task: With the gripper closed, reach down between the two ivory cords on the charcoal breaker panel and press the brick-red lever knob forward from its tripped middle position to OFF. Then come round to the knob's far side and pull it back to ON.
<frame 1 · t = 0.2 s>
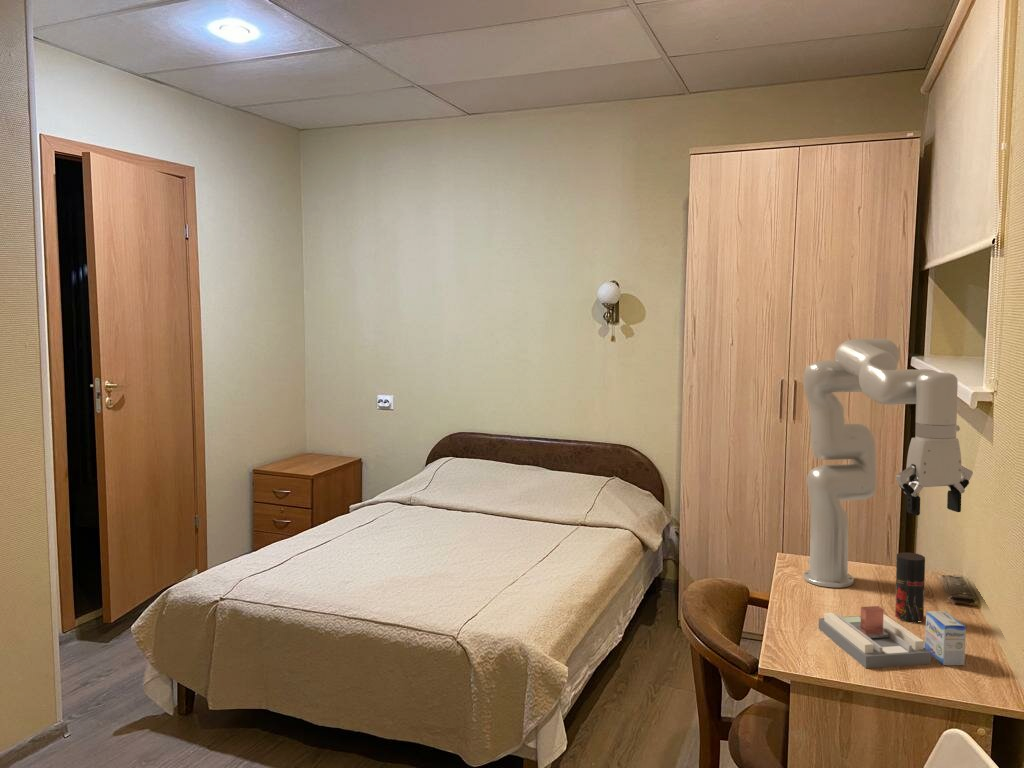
hand: (933, 512, 162), 30 cm above the table, tool pointing down, fingers open, 9 cm apart
breaker panel: (871, 645, 168), on the table
deodorant: (909, 618, 183), on the table
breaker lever: (871, 620, 168), point 6 cm above the table, slide at 5.0 cm
medicine box: (944, 658, 162), on the table
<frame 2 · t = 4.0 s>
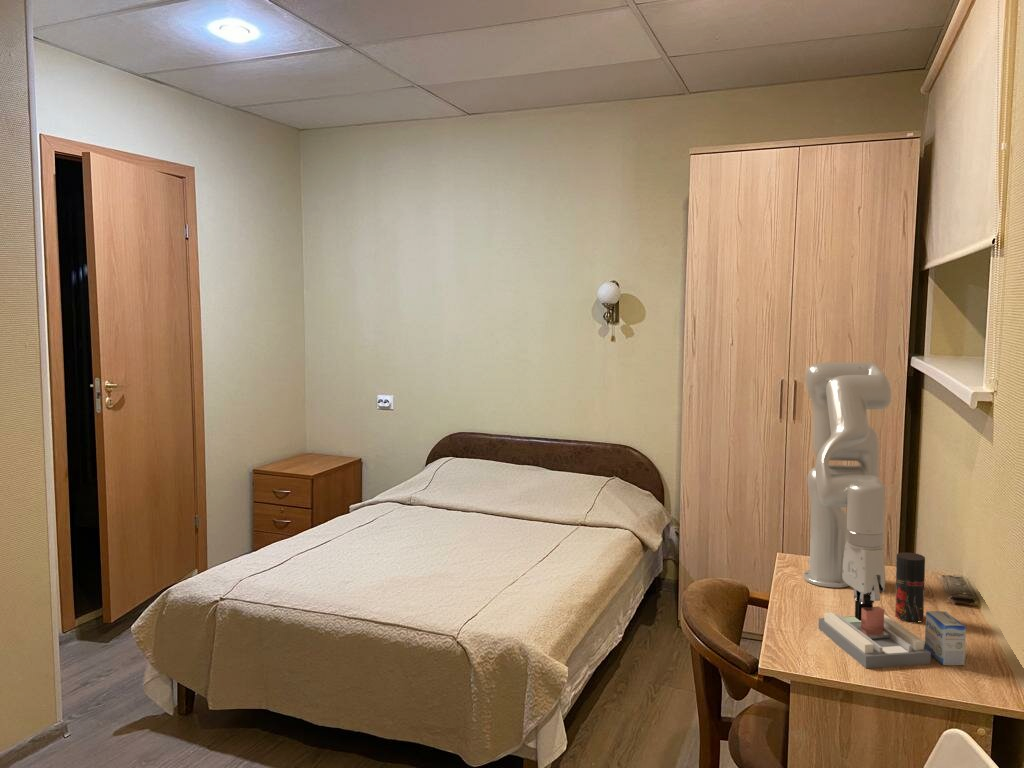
hand: (863, 618, 171), 5 cm above the table, tool pointing down, fingers closed
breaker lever: (872, 621, 168), point 6 cm above the table, slide at 5.3 cm, touching gripper
everything else where it was.
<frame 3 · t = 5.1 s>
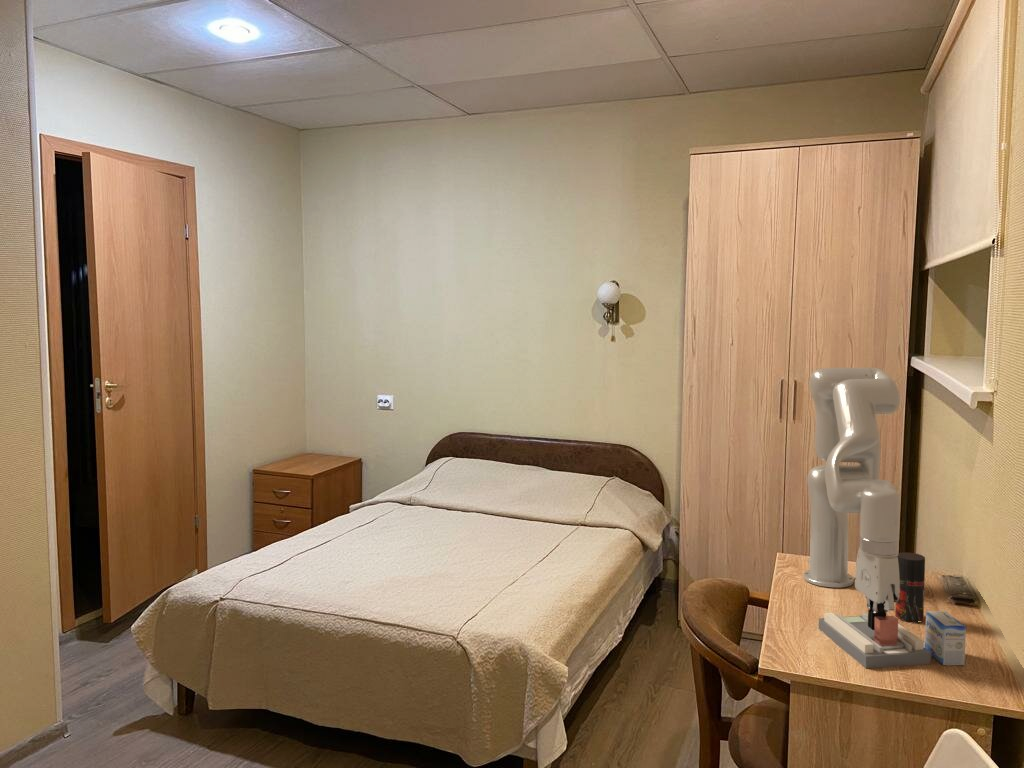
hand: (876, 628, 166), 5 cm above the table, tool pointing down, fingers closed
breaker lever: (886, 630, 162), point 6 cm above the table, slide at 10.4 cm, touching gripper
everything else where it was.
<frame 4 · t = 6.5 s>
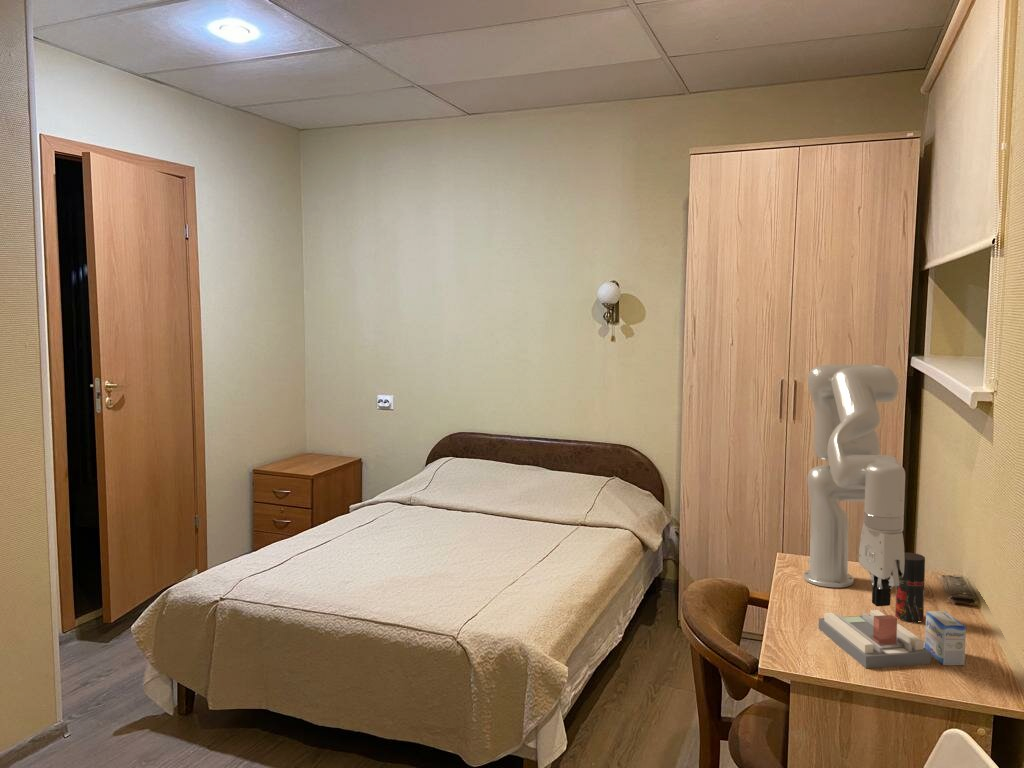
hand: (880, 604, 164), 10 cm above the table, tool pointing down, fingers closed
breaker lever: (885, 630, 163), point 6 cm above the table, slide at 10.0 cm
everything else where it was.
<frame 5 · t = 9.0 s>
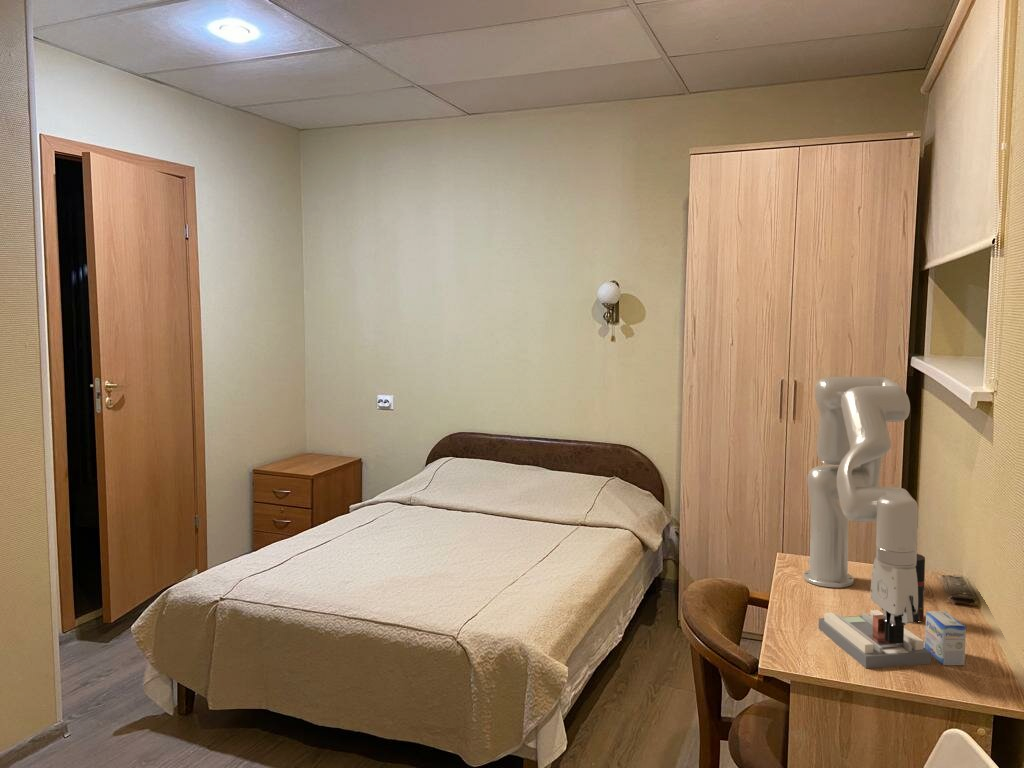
hand: (893, 641, 160), 4 cm above the table, tool pointing down, fingers closed
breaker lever: (884, 629, 163), point 6 cm above the table, slide at 9.7 cm, touching gripper
everything else where it was.
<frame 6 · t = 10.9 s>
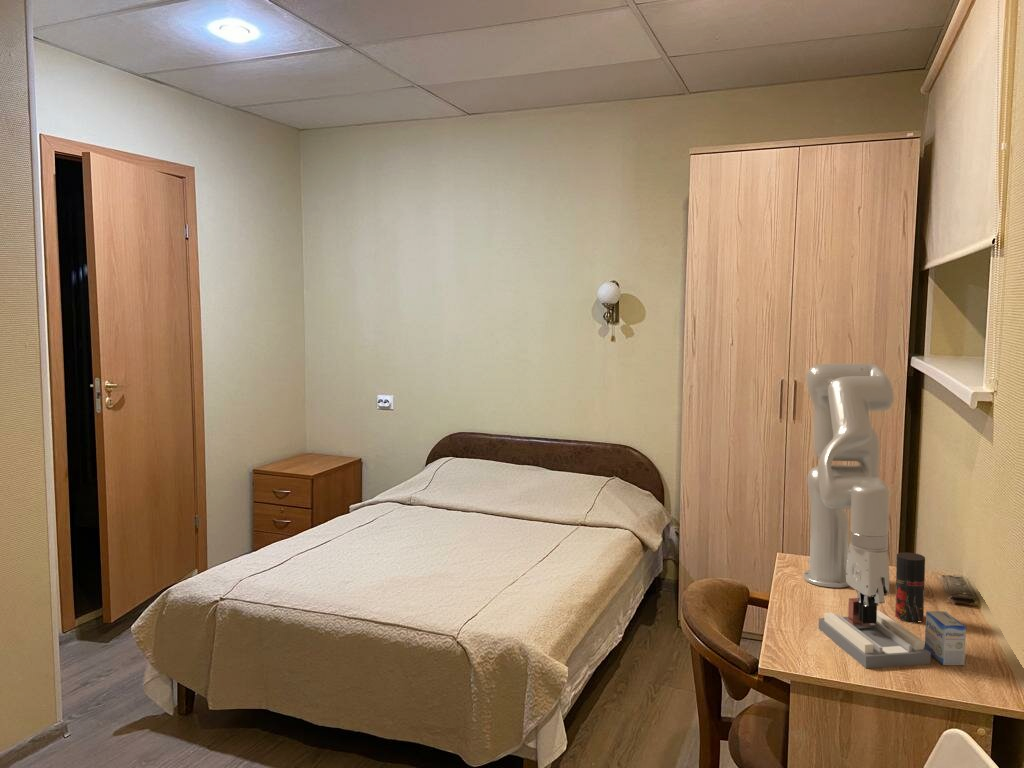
hand: (867, 621, 170), 5 cm above the table, tool pointing down, fingers closed
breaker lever: (859, 611, 173), point 6 cm above the table, slide at -0.1 cm, touching gripper
everything else where it was.
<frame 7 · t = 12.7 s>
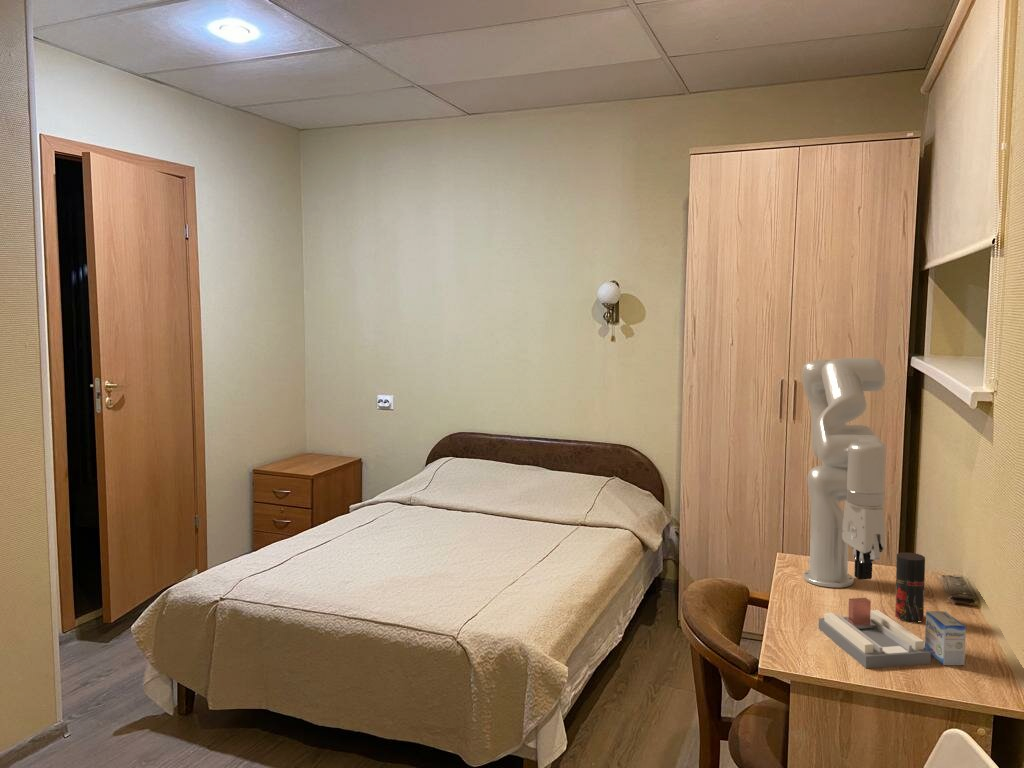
hand: (863, 577, 171), 14 cm above the table, tool pointing down, fingers closed
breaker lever: (859, 611, 173), point 6 cm above the table, slide at 0.0 cm
everything else where it was.
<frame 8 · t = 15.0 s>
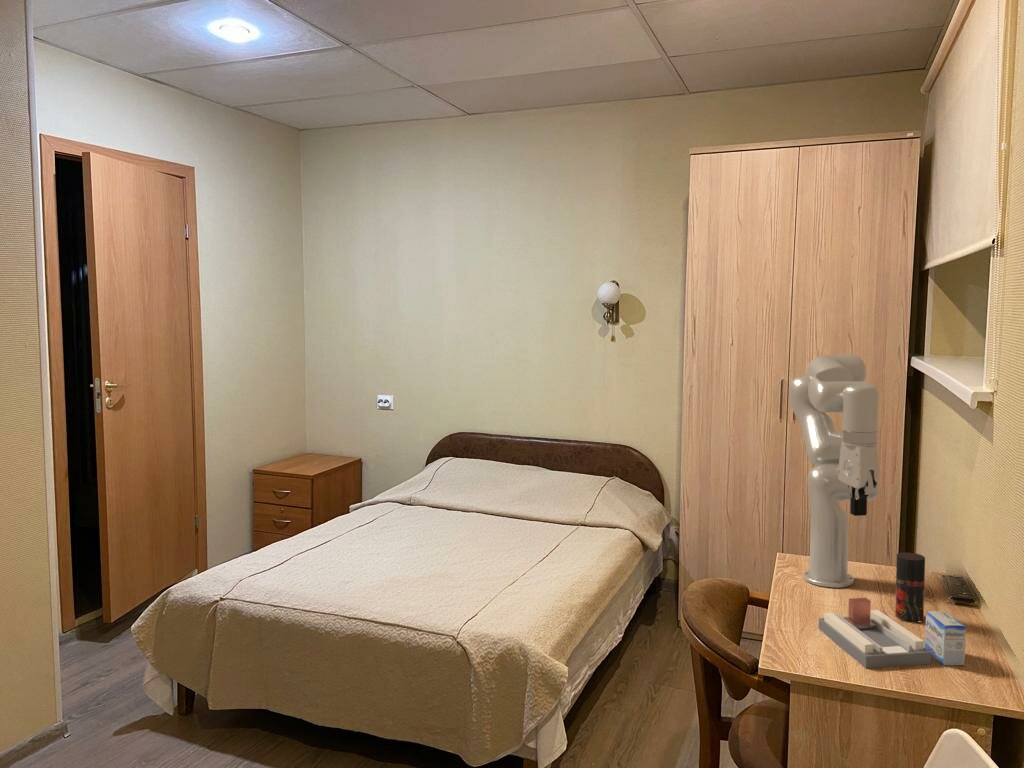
hand: (858, 514, 181), 25 cm above the table, tool pointing down, fingers closed
nothing on the table moved.
at the end: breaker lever slide at 0.0 cm; medicine box moved 0.3 cm from its start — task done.
